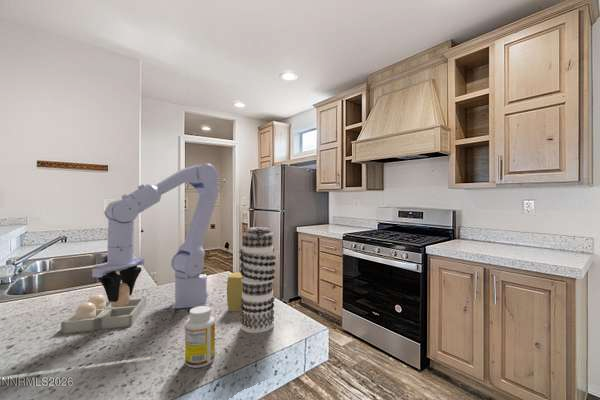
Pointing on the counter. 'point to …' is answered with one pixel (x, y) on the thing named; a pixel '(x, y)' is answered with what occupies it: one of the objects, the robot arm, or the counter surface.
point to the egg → (122, 296)
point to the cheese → (234, 292)
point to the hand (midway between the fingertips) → (120, 298)
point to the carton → (106, 317)
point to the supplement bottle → (199, 337)
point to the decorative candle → (257, 280)
